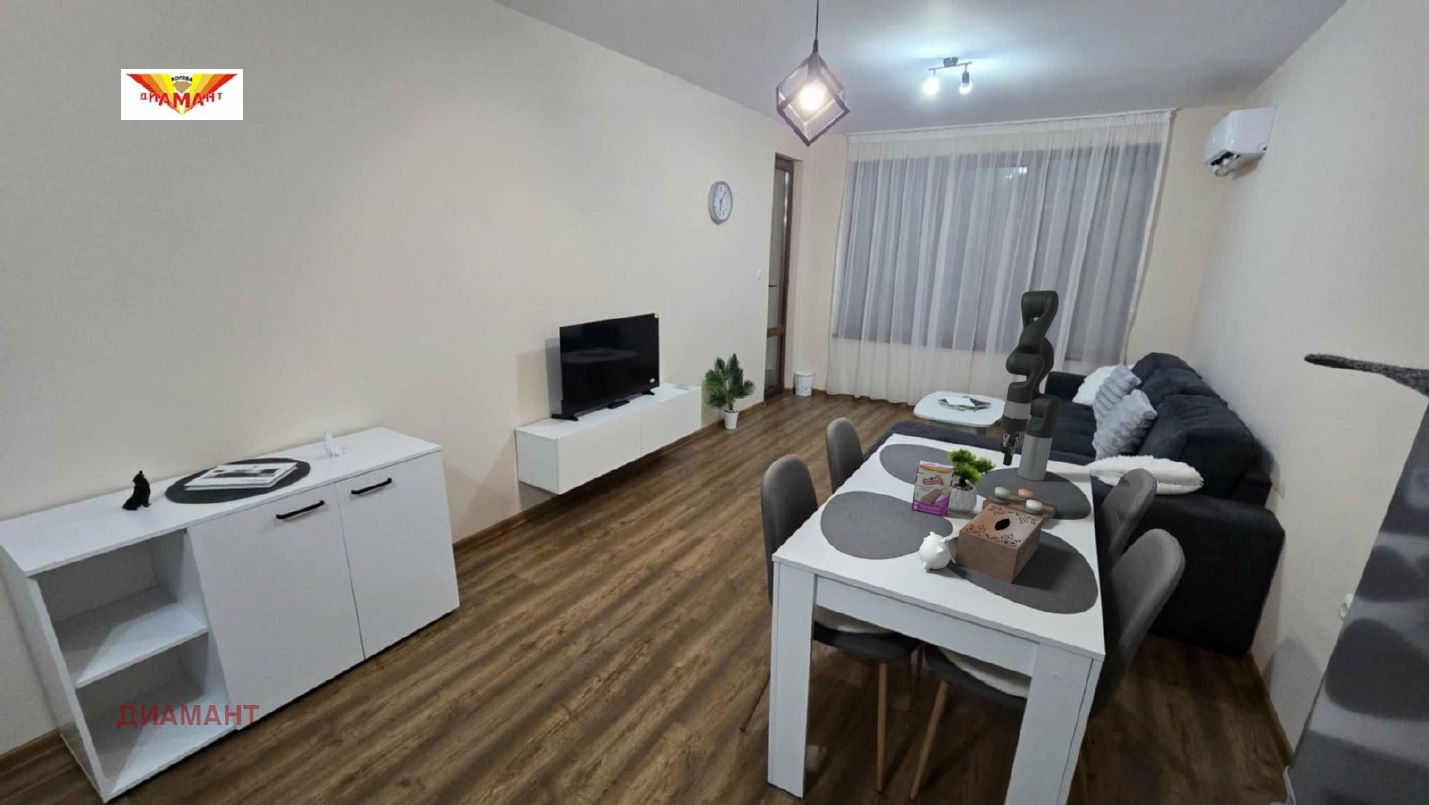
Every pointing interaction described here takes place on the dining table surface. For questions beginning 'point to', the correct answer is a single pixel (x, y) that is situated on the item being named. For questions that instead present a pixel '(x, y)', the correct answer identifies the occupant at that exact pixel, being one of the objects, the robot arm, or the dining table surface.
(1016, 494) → the walnut button panel
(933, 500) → the candy bar box
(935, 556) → the cat figurine
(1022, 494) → the terracotta button
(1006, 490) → the sage-green button
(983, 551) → the tissue box cover
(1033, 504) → the cream button
